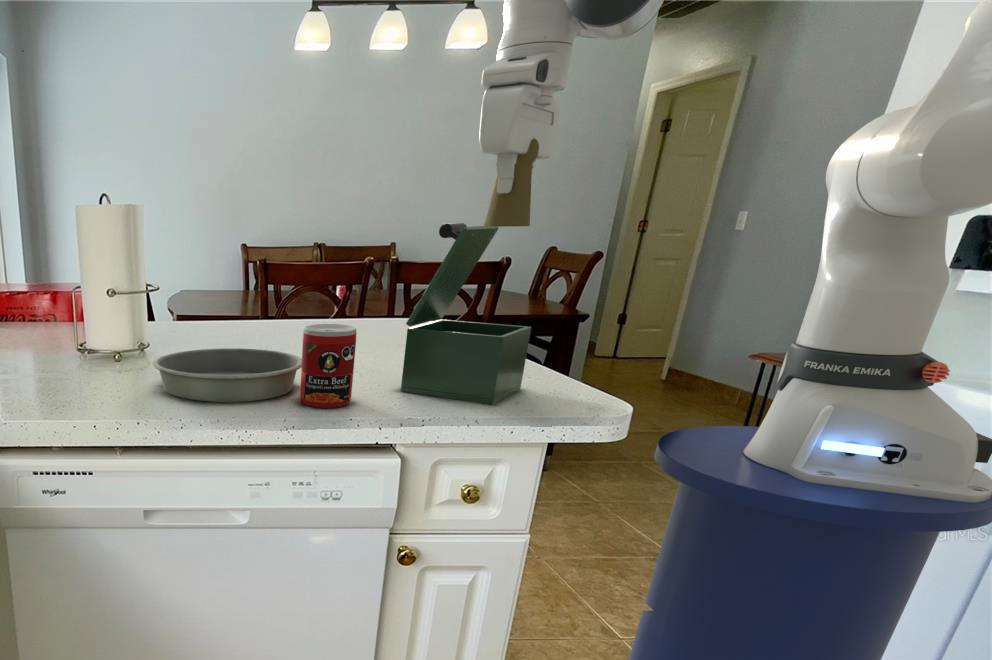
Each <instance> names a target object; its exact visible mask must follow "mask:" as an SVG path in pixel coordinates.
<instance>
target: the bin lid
mask: <svg viewBox="0 0 992 660" xmlns="http://www.w3.org/2000/svg"><path fill="white" fill-rule="evenodd" d="M498 231H499V227H485V226H484V225H476V226H475V225H473V226H467V224H466V223H464V222H450V223H449V222H448V223H443V224H442V225H441V226H440V227H439V229H438V234H439V236H440V238H442V239H453V240H454V242H453V243H452V245H451V247H450V249H449V251H448V252H447V254H446V255H445V257H444V258H443V261H442V263H441V264H440V266H439V267H438V269H437V271H436V272H435V274H434V275H433V278H432V279H431V281H430V282H429V284H428V286H427V287H426V289H425V290H424V293H423V294H422V295H421V297H420V299H419V301H418V303H417V304H416V306H415V307H414V309H413V311H412V313H411V314H410V316H409V317H408V318H407V319H408V320H407V321H406V322H405V325H407V327H408V328H411V327H415V326H418V325H422V324H426V323H429V322H433V321H437V320H440V319H443V318H444V316H445V315H446V314H447V312H448V310H449V309H450V307H451V305H452V304H453V302H454V301H455V299H456V298H457V296H458V294H459V293H460V291H461V289H462V287H463V286H464V285H465V283H466V281H467V280H468V278H469V276H470V275H471V273H472V272H473V270H474V269H475V267H476V265H477V264H478V262H479V261H480V259H481V258H482V256H483V254H484V253H485V251H486V249H487V248H488V246H489V244H490V243H491V242H492V240H493V239H494V237H495V235H496V234H497V232H498Z"/></svg>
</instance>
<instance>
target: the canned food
mask: <svg viewBox="0 0 992 660" xmlns="http://www.w3.org/2000/svg"><path fill="white" fill-rule="evenodd" d="M356 346H357V327H356V326H353V325H348V324H339V323H319V324H318V323H317V324H310V325H306V326H304V328H303V335H302V351H301V359H302V367H301V370H300V371H301V372H300V376H301V377H300V395H299V396H300V401H301V403H302V404H303V405H305V406H307V407H311V408H318V409H319V408H320V409H337V408H343V407H345V406H347V405H349V404H350V401H351V398H352V394H353V393H352V392H353V383H354V371H355V369H354V368H355V359H356Z"/></svg>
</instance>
